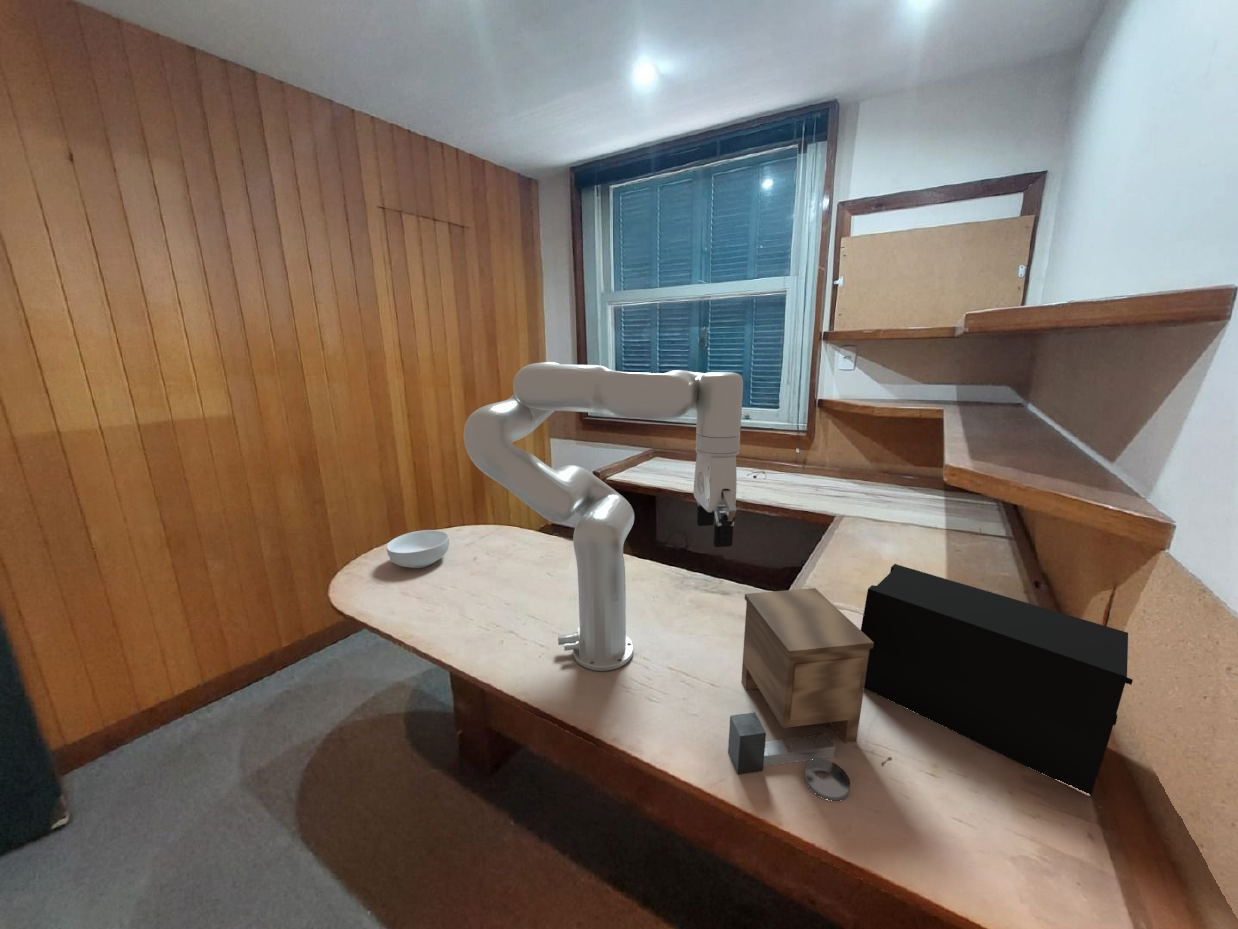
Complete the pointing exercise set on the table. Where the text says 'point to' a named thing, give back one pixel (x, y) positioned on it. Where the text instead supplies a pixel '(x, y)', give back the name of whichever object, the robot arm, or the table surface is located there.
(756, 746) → the metal handled mallet
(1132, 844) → the table surface
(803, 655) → the walnut cabinet
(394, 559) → the cereal bowl
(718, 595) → the table surface
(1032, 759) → the uninterruptible power supply
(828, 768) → the steel token
